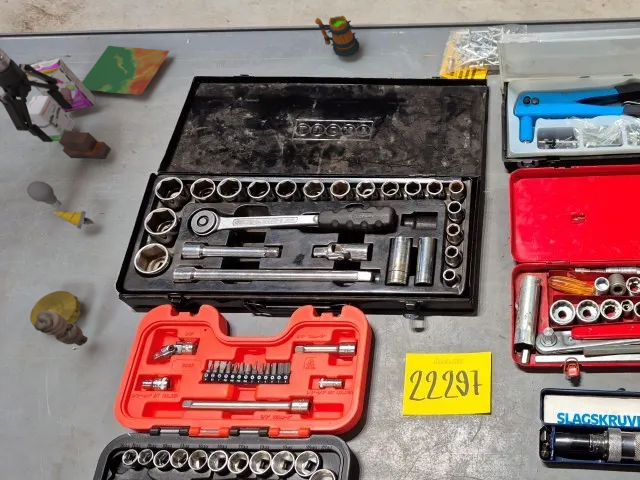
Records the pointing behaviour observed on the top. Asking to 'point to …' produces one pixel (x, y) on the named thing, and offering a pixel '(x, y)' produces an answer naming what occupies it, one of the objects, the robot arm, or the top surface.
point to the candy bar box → (64, 84)
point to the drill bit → (75, 218)
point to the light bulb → (43, 193)
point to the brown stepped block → (83, 146)
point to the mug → (340, 36)
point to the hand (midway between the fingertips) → (58, 124)
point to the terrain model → (124, 70)
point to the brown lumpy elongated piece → (59, 328)
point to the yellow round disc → (58, 306)
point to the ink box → (49, 117)
